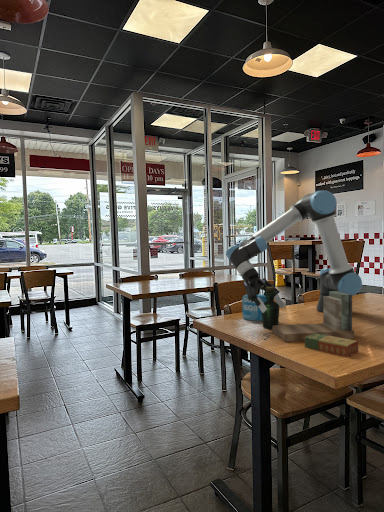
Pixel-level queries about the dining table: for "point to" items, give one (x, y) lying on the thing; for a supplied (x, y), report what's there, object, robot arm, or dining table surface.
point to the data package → (252, 308)
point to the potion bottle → (270, 309)
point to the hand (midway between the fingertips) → (274, 309)
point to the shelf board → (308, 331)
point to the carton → (332, 344)
